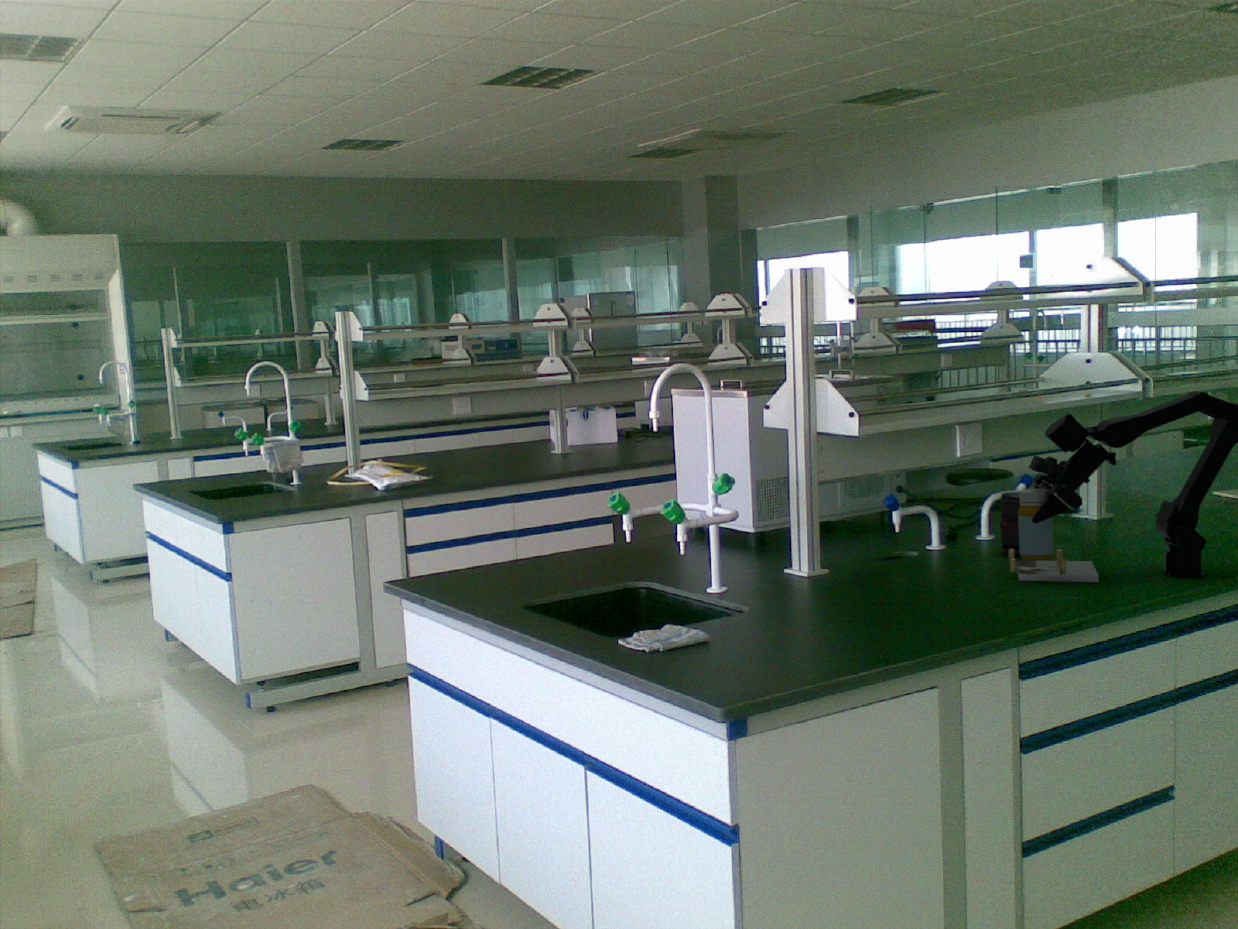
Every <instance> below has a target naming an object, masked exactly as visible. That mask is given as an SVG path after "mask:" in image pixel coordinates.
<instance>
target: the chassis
mask: <svg viewBox="0 0 1238 929" xmlns="http://www.w3.org/2000/svg"><path fill="white" fill-rule="evenodd" d="M1008 562H1009V563H1010V568H1009V570H1010V573H1017V577H1018V581H1019V582H1020V581H1021V582H1023V581H1024V582H1025V581H1026V582H1030V581H1031V582H1066V583H1067V582H1068V583H1069V582H1075V583H1078V582H1080V583H1081V582H1082V583H1099V572H1097V570H1096V567H1095V564H1093V561H1091V560H1089V561H1087V560H1086V561H1085V560H1080V561H1079V560H1067V559H1066V558H1063V549H1062V548H1057V549H1056V560H1041V561H1032V560H1025V559H1022V560H1019V559H1018V560H1017V558H1015V557H1014V549H1009V557H1008Z"/></svg>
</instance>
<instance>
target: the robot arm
mask: <svg viewBox="0 0 1238 929" xmlns="http://www.w3.org/2000/svg"><path fill="white" fill-rule="evenodd" d="M1196 413H1201V414H1203V415H1205V416H1207V417H1210V418H1213V420H1212V423H1211V431H1210V439H1208V442H1207V444H1206V446H1205V448H1204V449H1203V451H1202V453H1201V455H1200V457H1199V459H1198V461H1197V462H1196V464H1195V466H1194V468H1193V469H1192V471H1191V473H1190V475H1189V476H1188V478H1187V480H1186V482H1185V484H1184V485H1183V487H1182V489H1181V490H1180V492H1179V495H1178V496H1177V497H1176V498H1174V499H1173V500H1172V501H1168V500H1163V502H1162V503H1161V506H1160V509H1159V511H1158V512H1157V513H1156V514H1155V515H1154V517H1155V518H1156V520H1155V524H1154V525H1155V528H1156V531H1157V532H1158V534H1160V535H1161V536H1163V539H1164V542H1165V543H1166V550H1165V551H1164V552H1163V555H1164V556H1163V557H1164V558H1163V561H1164V562H1163V569H1164V571H1165V572H1166V573H1167V574H1168V576H1170V577H1190V578H1203V577H1204V573H1203V572H1202V566H1203V564H1202V557H1203V556H1202V554H1203V553H1202V551H1203V550H1204V549H1205V546H1206V543H1207V541H1208V540H1207V539H1206V538H1205V537H1203V536H1202V535H1201V534H1200V533H1199V532H1198V531H1197V529H1196V528H1197V525H1198V523H1199V519H1200V518H1199V516H1200V509H1201V508H1200V507H1201V505H1202V503H1203V501H1204V499H1205V498H1206V496H1207V494H1208V492H1209V491H1210V489H1211V487H1212V485H1213V483H1214V482H1215V480H1216V478H1217V477H1218V474H1219V472H1220V471H1221V469H1222V467H1223V465H1224V464H1225V462H1226V460H1227V459H1228V457H1229V455H1230V453H1231V452H1232V450H1233V448H1234V447H1235V446H1236V445H1237V444H1238V402H1233V401H1232V402H1230V401H1227V400H1223V399H1221V398H1218V397H1215V396H1213V395H1210V394H1209V393H1208V392H1206V391H1205V392H1203V391H1199V390H1198V391H1196V390H1195V391H1191V392H1190V391H1189V393H1187V394H1186V395H1184V396H1180V397H1178V398H1176V399H1172V400H1170V401H1167V402H1165V403H1162V404H1160V405H1157V406H1154V407H1152V408H1149V409H1147V410H1144V411H1141V412H1139V413H1134V414H1130V415H1124V416H1117V417H1113V418H1106V419H1103V420H1101V421H1100V422H1098V424H1097V425H1095V426H1093V425H1092V426H1089V427H1088V426H1087V427H1084V426H1083V425H1082V424H1081V423H1080V422H1079V421H1078V420H1077V419H1076V418H1075V417H1074V416H1073V415H1072V414H1071V413H1068V412H1067V413H1065V414H1064V415H1063V416H1062V417H1060V418H1059V419H1057V420H1056V421H1055V422H1052V423H1051V424H1050V425H1049V426H1048V428H1047V429H1046V430H1045V432H1044V436H1045V437H1046V438H1047V439H1048V440H1049V441H1050V442H1052V443H1053V444H1054V445H1055V446H1056V447H1058V448H1059V449H1060V450H1061V451H1062V452H1063V453H1068V452H1070V453H1073V454H1072V455H1071V456H1070V457H1069V458H1068V459H1067V460H1061V461H1059V463H1058V459H1057V458H1054V457H1052V456H1049V455H1048V456H1047V457H1046V458H1043V457H1041V456H1038V455H1033V456H1032V457H1033V458H1032V460H1031V461H1030V463H1029V466H1028V469H1030V470H1032V471H1034V472H1037V474H1036V475H1035V476H1034V477H1033V478H1032V479H1031V480H1032V482H1033V483H1032V486H1033V489H1048V490H1049V491H1048V490H1046V501H1045V502H1044V504H1043V505H1042V506H1041V508H1040V509H1039V510H1038V512H1037V513H1036V514H1035V516H1034V517H1033V519H1032V522H1034V523H1035V524H1036V523H1039V522H1041V521H1044V520H1046V519H1049V518H1051V517H1052V518H1053V517H1055V516H1059V515H1061V514H1063V513H1068V512H1071V511H1072V510H1074V511H1077V510H1078V509H1079V508H1080V507H1081V506H1082V505H1083V497H1082V496H1080V495H1079V494H1078V493H1077V490H1079V488H1081V486H1082V485H1084V483H1085V484H1088V483H1089V482H1091V479H1089V478H1090V477H1091V476H1092V475H1093V474H1094V473H1095V472H1096V471H1097V470H1098V469H1099V468H1100V467H1101V466H1102V465H1103V464H1104V463H1105V462H1106V463H1107V464H1109V465H1112V466H1116V465H1117V459H1116V456H1117V453H1116V452H1115V451H1108V450H1107V449H1106V448H1105V447H1103V446H1102V445H1104V446H1107V447H1111V448H1114V449H1120V448H1123V447H1125V446H1127V445H1129V444H1131V443H1132V442H1134V441H1136V440H1137V439H1138V438H1139V437H1141V436H1142V435H1143V434H1145V433H1146V432H1148V431H1151V430H1153V429H1156V428H1158V427H1160V426H1161V427H1162V426H1164V425H1166V424H1169V423H1171V422H1174V421H1177V420H1180V419H1182V418H1185V417H1187V416H1188V417H1189V416H1190V415H1194V414H1196ZM1089 439H1091V440H1094V441H1097V442H1099V443H1096V444H1094V443H1092V442H1091V441H1090V440H1089ZM1101 444H1102V445H1101ZM1071 509H1072V510H1071ZM1202 576H1203V577H1202Z"/></svg>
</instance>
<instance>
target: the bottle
mask: <svg viewBox="0 0 1238 929" xmlns="http://www.w3.org/2000/svg"><path fill="white" fill-rule="evenodd" d="M1046 490H1048V489H1034V488H1024V489H1020V490H1019V491H1018V492H1019V500H1020V508H1019V511H1018V524H1019V546H1020V556H1021V557H1022V558H1021V559H1022V560H1024V561H1050V560H1051V559H1053V557H1054V556H1055V548H1054V547H1055V544H1054V528H1053V527H1054V526H1053V523H1054V521H1053V517H1051V518H1049V519H1046V520H1044V521H1041V522H1039V523H1036V524H1035V523H1034V522H1032V519H1033V517H1034V516H1035V514H1036V513H1037V512H1038V510H1039V509H1040V508H1041V506H1042V505H1043V504H1044V502H1045V501H1046ZM1048 491H1049V490H1048Z"/></svg>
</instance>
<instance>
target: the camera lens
mask: <svg viewBox="0 0 1238 929" xmlns="http://www.w3.org/2000/svg"><path fill="white" fill-rule="evenodd" d="M1000 495H1001V497H1000V506H999V508H1000V509H999V511H1000V518H1001V519H1000V520H1001V521H1000V522H999V528H1000V529H1001V530H1000V531H1001V532H1000V542H1001V548H1002V550H1003V555H1004V556H1005V557H1008V558H1009V549H1014V558H1016V559H1017V558H1019V559H1020V558H1021V559H1023V558H1022V557H1021V556H1020V546H1019V524H1018V511H1019V508H1020V500H1019V491H1009V492H1003V493H1001V494H1000Z"/></svg>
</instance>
